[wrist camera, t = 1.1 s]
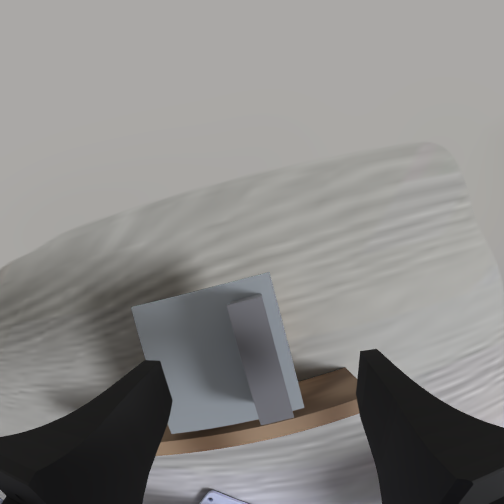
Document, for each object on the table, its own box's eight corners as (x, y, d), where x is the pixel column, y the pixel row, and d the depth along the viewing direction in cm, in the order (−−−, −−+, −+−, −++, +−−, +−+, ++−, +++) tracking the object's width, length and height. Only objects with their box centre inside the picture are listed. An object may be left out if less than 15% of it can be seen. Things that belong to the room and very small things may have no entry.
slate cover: (268, 272, 18) (271, 270, 14) (302, 401, 17) (312, 430, 13) (137, 305, 18) (108, 311, 14) (175, 427, 17) (157, 457, 13)
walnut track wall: (345, 367, 22) (371, 393, 16) (347, 378, 22) (374, 407, 16) (107, 415, 22) (72, 445, 16) (111, 425, 22) (78, 456, 16)
